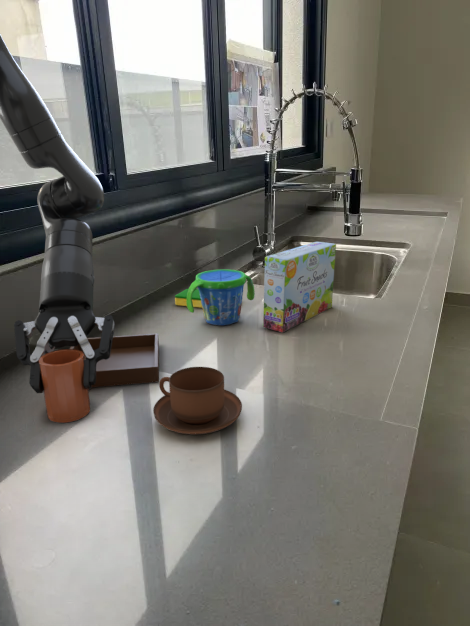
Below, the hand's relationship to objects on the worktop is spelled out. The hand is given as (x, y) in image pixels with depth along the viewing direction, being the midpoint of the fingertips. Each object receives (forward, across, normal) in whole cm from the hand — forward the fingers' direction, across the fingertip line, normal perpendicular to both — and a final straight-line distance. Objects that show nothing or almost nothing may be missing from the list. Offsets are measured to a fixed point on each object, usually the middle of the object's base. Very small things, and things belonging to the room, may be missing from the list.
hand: (63, 389), depth 67 cm
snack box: (-22, +43, +29) cm, 56 cm away
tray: (-9, +5, +15) cm, 18 cm away
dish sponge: (-32, +24, +38) cm, 55 cm away
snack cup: (-23, +26, +29) cm, 45 cm away
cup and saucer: (+6, +18, +1) cm, 19 cm away
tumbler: (+2, 0, +4) cm, 5 cm away
